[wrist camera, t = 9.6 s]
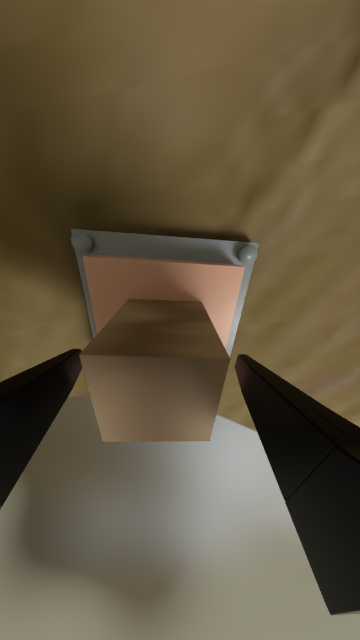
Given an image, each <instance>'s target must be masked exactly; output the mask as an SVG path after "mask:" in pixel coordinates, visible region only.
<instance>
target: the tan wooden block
mask: <svg viewBox="0 0 360 640" xmlns="http://www.w3.org/2000/svg"><path fill="white" fill-rule="evenodd" d="M79 356H80V360H81V364H82V367H83V371H84V375H85V378H86V382H87V385H88V389H89V393H90V396H91V400H92V403H93V407H94V411H95V414H96V418H97V422H98V425H99V429H100V432H101V436H102V440H103V442H105V441H106V442H115V441H116V442H118V441H120V442H123V441H124V442H126V441H210V437H211V433H212V429H213V425H214V421H215V417H216V413H217V409H218V405H219V401H220V397H221V393H222V389H223V385H224V381H225V377H226V373H227V369H228V366H229V362H230V357H229V355H228V353H227V351H226V349H225V347H224V345H223V343H222V341H221V339H220V337H219V335H218V333H217V331H216V329H215V327H214V325H213V323H212V321H211V319H210V317H209V315H208V313H207V311H206V309H205V307H204V305H203V303H202V302H194V301H172V300H150V299H128V300H127V301H126V302H125V303H124V304H123V306H122V307H121V308H120V309H119V310H118V311H117V312H116V313H115V315H114V316H113V317H112V318H111V319H110V320H109V321H108V323H107V324H106V325H105V326H104V327H103V328H102V329H101V331H100V332H99V333H98V334H97V335H96V336H95V337H94V339H93V340H92V341H91V342H90V343H89V344H88V345H87V347H86V348H85V349H84V350H83V351H82V352H81V353H80V354H79Z"/></svg>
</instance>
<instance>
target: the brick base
mask: <svg viewBox="0 0 360 640" xmlns="http://www.w3.org/2000/svg"><path fill="white" fill-rule="evenodd" d="M71 233H72V237H71V243H72V246H73V247H74V249H75V252H76V257H77V262H78V267H79V271H80V276H81V281H82V286H83V291H84V295H85V300H86V305H87V310H88V315H89V320H90V324H91V329H92V334H93V339H94V337H95V336H96V335H97V334H98V333H99V332H100V331H101V329H102V328H103V327H104V326H105V325H106V324H107V323H108V321H109V320H110V319H111V318H112V317H113V316H114V315H115V313H116V312H117V311H118V310H119V309H120V308H121V307H122V306H123V304H124V303H125V302H126V301H127V300H128V299H150V300H172V301H194V302H202V303H203V305H204V307H205V309H206V311H207V313H208V315H209V317H210V319H211V321H212V323H213V325H214V327H215V329H216V331H217V333H218V335H219V337H220V339H221V341H222V343H223V345H224V347H225V349H226V351H227V353H228V355H229V357H230V355H231V351H232V347H233V343H234V339H235V335H236V331H237V327H238V323H239V320H240V316H241V312H242V308H243V304H244V300H245V296H246V292H247V288H248V284H249V280H250V277H251V273H252V269H253V265H254V261H255V259H256V258H257V255H258V251H257V249H258V245H259V243H251V242H238V241H225V240H212V239H199V238H186V237H173V236H159V235H146V234H133V233H120V232H107V231H94V230H81V229H71Z"/></svg>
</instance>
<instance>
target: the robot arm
mask: <svg viewBox="0 0 360 640" xmlns="http://www.w3.org/2000/svg"><path fill="white" fill-rule="evenodd" d="M81 352H82V351H81V350H80V349H71V350H69V351H67V352H65V353H62V354H60V355H58V356H56V357H54V358H52V359H49V360H47V361H45V362H43V363H41V364H39V365H36V366H34V367H32V368H30V369H28V370H26V371H23V372H21V373H19V374H17V375H15V376H13V377H10V378H8V379H6V380H4V381H2V382H0V509H1V507H2V506H3V504H4V502H5V501H6V499H7V497H8V496H9V494H10V492H11V491H12V489H13V487H14V486H15V484H16V482H17V481H18V479H19V477H20V476H21V474H22V472H23V471H24V469H25V467H26V466H27V464H28V462H29V461H30V459H31V457H32V456H33V454H34V452H35V451H36V449H37V447H38V446H39V444H40V442H41V441H42V439H43V437H44V436H45V434H46V432H47V431H48V429H49V427H50V426H51V424H52V422H53V421H54V419H55V417H56V416H57V414H58V412H59V411H60V409H61V407H62V406H63V404H64V402H65V401H66V399H67V397H68V396H69V394H70V392H71V390H72V389H73V387H74V384H75V382H76V380H77V378H78V376H79V374H80V372H81V370H82V364H81V360H80V356H79V354H80V353H81ZM235 370H236V373H237V377H238V381H239V384H240V388H241V391H242V394H243V397H244V399H245V402H246V404H247V407H248V410H249V412H250V415H251V417H252V420H253V422H254V425H255V427H256V430H257V432H258V435H259V437H260V440H261V442H262V445H263V447H264V450H265V452H266V455H267V457H268V460H269V462H270V465H271V467H272V470H273V472H274V475H275V477H276V480H277V483H278V485H279V488H280V490H281V493H282V495H283V498H284V500H285V503H286V505H287V508H288V510H289V513H290V516H291V518H292V521H293V523H294V526H295V528H296V531H297V533H298V536H299V538H300V541H301V543H302V546H303V548H304V551H305V553H306V556H307V558H308V561H309V563H310V566H311V568H312V571H313V573H314V576H315V579H316V581H317V583H318V586H319V588H320V591H321V594H322V596H323V599H324V601H325V603H326V606H327V608H328V610H329V612H330V614H331V615H344V614H356V613H357V614H358V613H360V427H358V426H357V425H355V424H353V423H352V422H350V421H348V420H347V419H345V418H343V417H342V416H340V415H338V414H337V413H335V412H333V411H332V410H330V409H328V408H327V407H325V406H324V405H322V404H321V403H319V402H318V401H316V400H314V399H313V398H311V397H310V396H307V394H305V393H304V392H302V391H301V390H299V389H298V388H296V387H295V386H293V385H292V384H290V383H289V382H287V381H286V380H284V379H282V378H281V377H279V376H278V375H276V374H275V373H273V372H272V371H270V370H269V369H267V368H266V367H264V366H263V365H261V364H260V363H258V362H257V361H255V360H253V359H252V358H250V357H249V356H247V355H245V354H239V355H238V357H237V360H236V364H235Z"/></svg>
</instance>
